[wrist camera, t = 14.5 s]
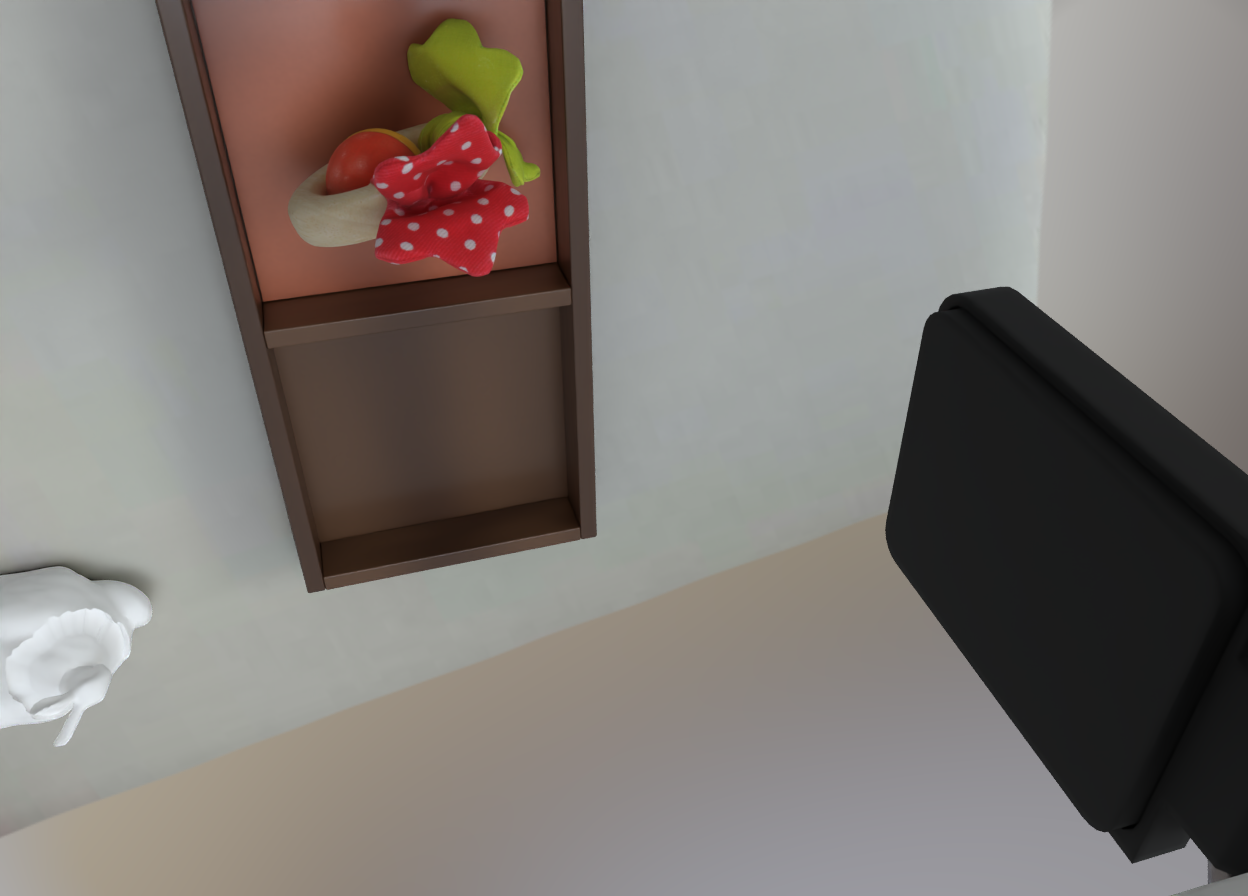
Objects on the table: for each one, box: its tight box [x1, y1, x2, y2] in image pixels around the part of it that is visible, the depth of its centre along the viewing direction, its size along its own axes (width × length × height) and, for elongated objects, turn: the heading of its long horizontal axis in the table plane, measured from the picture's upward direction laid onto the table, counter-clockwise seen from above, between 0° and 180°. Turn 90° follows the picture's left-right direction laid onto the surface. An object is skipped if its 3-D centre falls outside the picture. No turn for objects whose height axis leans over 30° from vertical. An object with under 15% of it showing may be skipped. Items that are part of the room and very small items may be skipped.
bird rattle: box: [288, 18, 540, 277], centre depth 35 cm, size 6×11×9 cm
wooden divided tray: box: [155, 0, 597, 593], centre depth 42 cm, size 14×26×3 cm, turn 0°
